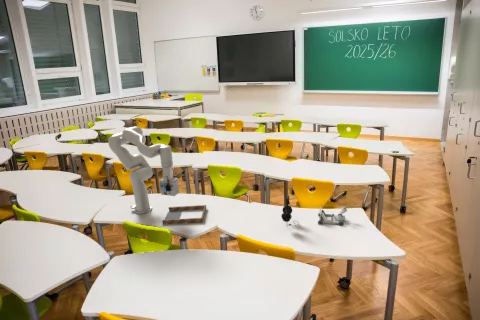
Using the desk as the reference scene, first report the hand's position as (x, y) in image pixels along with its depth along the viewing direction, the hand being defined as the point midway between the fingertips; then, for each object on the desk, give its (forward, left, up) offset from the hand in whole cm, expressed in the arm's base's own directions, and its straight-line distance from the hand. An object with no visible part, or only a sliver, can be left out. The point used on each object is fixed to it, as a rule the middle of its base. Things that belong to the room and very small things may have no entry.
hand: (169, 188), depth 228 cm
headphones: (+79, -22, -22) cm, 85 cm away
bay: (+8, 0, -21) cm, 23 cm away
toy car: (+106, -18, -22) cm, 109 cm away
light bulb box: (0, 0, -4) cm, 4 cm away
